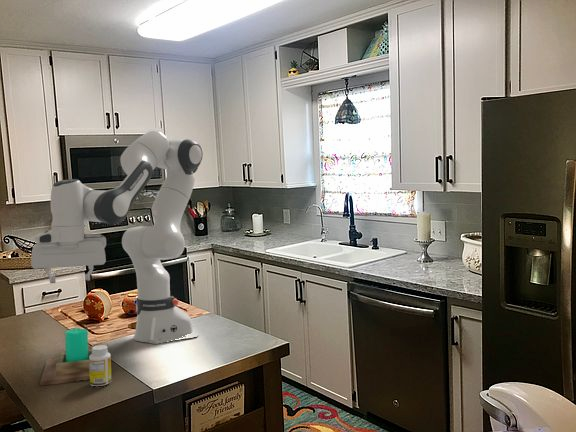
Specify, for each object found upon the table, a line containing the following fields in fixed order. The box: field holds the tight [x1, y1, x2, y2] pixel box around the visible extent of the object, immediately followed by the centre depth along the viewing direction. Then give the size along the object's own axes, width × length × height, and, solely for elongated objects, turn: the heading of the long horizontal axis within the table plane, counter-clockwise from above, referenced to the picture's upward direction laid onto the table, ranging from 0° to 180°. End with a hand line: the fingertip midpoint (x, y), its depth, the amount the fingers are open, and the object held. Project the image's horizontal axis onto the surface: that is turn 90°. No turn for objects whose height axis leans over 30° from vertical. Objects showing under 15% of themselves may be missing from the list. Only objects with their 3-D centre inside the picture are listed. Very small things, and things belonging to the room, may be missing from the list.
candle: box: [64, 325, 89, 362], centre depth 151 cm, size 6×6×12 cm
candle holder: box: [39, 349, 92, 387], centre depth 151 cm, size 18×18×4 cm
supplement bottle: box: [89, 344, 112, 387], centre depth 141 cm, size 6×6×10 cm
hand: (70, 281), depth 153 cm, fingers open, 8 cm apart
